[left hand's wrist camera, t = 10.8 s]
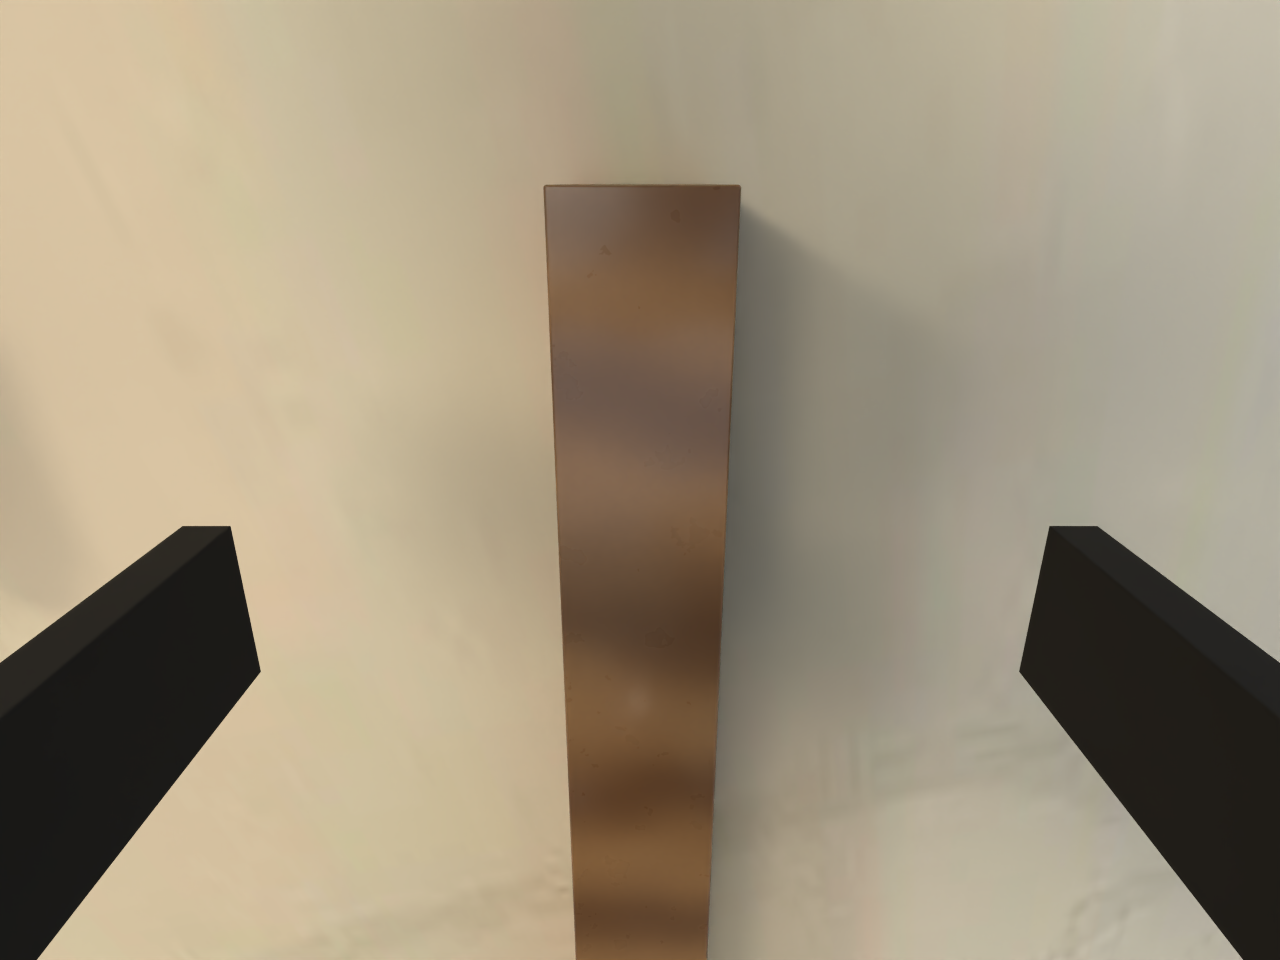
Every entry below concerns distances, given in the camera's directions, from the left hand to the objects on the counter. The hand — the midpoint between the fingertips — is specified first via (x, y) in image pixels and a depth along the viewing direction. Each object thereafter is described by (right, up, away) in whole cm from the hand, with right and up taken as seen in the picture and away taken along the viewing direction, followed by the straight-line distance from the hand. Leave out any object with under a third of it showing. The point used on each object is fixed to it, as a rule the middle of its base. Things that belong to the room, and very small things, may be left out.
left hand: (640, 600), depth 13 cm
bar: (0, -12, +27) cm, 29 cm away
